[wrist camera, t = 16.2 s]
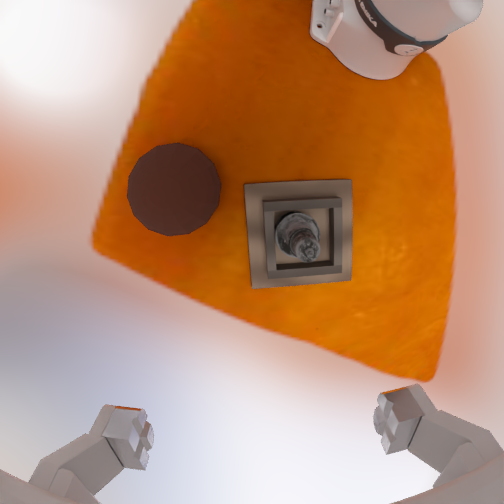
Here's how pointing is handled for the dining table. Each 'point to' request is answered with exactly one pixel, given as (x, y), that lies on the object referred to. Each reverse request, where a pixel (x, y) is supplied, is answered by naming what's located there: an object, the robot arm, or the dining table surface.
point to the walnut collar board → (316, 206)
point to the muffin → (174, 189)
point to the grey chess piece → (298, 236)
